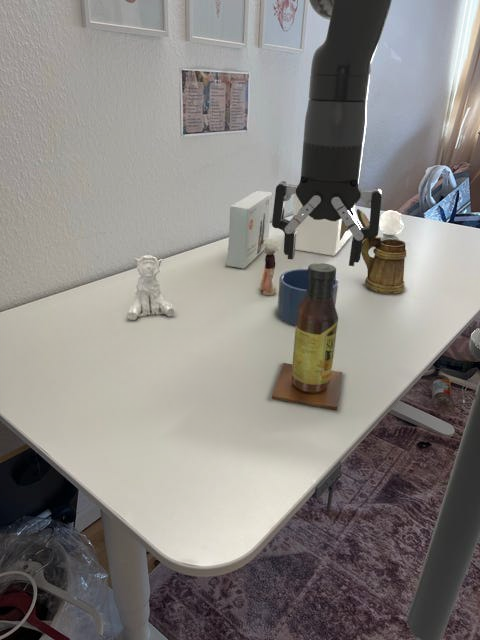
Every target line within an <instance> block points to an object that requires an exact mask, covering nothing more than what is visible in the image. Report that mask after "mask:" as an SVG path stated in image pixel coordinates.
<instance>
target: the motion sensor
mask: <svg viewBox="0 0 480 640" xmlns="http://www.w3.org/2000/svg"><path fill="white" fill-rule="evenodd" d="M401 216H402V214H401V213H400V212H398V211H395V210H392V209H389V210H386V211H385V212H383V213H382V214H381V215H380V220H379V230H380V231H381V232H382V233H383V234H385V235H387V236H395V235H398V234H400V233H402V231H403V230H404V222H403V221H402V218H401Z"/></svg>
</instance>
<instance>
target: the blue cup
mask: <svg viewBox="0 0 480 640" xmlns="http://www.w3.org/2000/svg"><path fill="white" fill-rule="evenodd" d="M307 273H308V268H297V269H291V270H287V271H284V272H283V273H282V274H280V276H279V281H278V282H279V283H278V296H277V316H278V318H279V319H280V320H281V321H282V322H284V323H286V324H289V325H291V326H295V327H296V323H297V312H298V307H299V305H300V304H301V302H302V301H303V300H304V298H305V297H306V296H307V289H308V274H307ZM338 290H339V279H338V278H337V276H336V277H335V279H334V285H333V300H334V304H335V307H336V305H337V298H338V297H337V296H338Z"/></svg>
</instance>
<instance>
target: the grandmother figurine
mask: <svg viewBox="0 0 480 640" xmlns="http://www.w3.org/2000/svg"><path fill="white" fill-rule="evenodd" d="M279 250H280V246H279V244H278V241H276V240H274V239H273V238H268V239H267V240H266V241H265V248H264V250H263V251H264V253H265V254H266V255H265V257H264V258H265V259H264V262H265V263H264V268H263V273H262V277H261V281H260V285H259V290H260V291H262V295H264V296H273V295H275V294H276V293H275V291H274V277H275V270H276V265H277V264H276V257H275V253H276V252H278V251H279Z"/></svg>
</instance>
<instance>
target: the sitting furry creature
mask: <svg viewBox="0 0 480 640" xmlns="http://www.w3.org/2000/svg"><path fill="white" fill-rule="evenodd" d="M133 260H134V262H135V264H136V270H137V272H138V275H140V277H139V278H138V279H137V283H136V285H135V288H136V291H135V294H134V295H135V296H134V297H133V300H134V301H133V303H132V304H131V305H130V306H129V307H128V308H129V309H128V310H127V314H126V317H127V319H129V320H131V321H135V320H137V318H140V317H147V316H150V315H152V316H157V315H166V316H167V317H168V318H171V317H173V316H174V314H175V309H174V306H172V303H170V302H169V301H168V300H166V298H165V296H164V295H163V293H162V291H161V287H160V285H161V284H160V282H159V280H158V279H157V275H158V274H159V273H160V271H161V270H160V267H161V264H162V261H163V258H160V259H158V258H157V257H155V256H153V255H151V254H147V255H142V256H140V258H137V257H133Z"/></svg>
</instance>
